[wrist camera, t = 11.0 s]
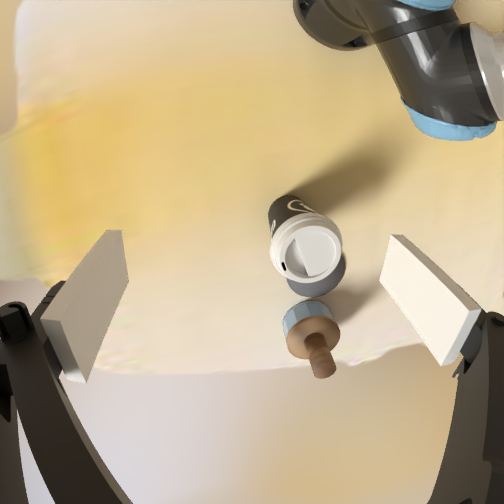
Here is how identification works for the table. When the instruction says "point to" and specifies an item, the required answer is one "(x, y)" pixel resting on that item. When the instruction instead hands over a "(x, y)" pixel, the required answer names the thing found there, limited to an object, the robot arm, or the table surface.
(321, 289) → the mat
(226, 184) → the table surface
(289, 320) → the bowl
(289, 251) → the coffee cup
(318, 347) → the lid
